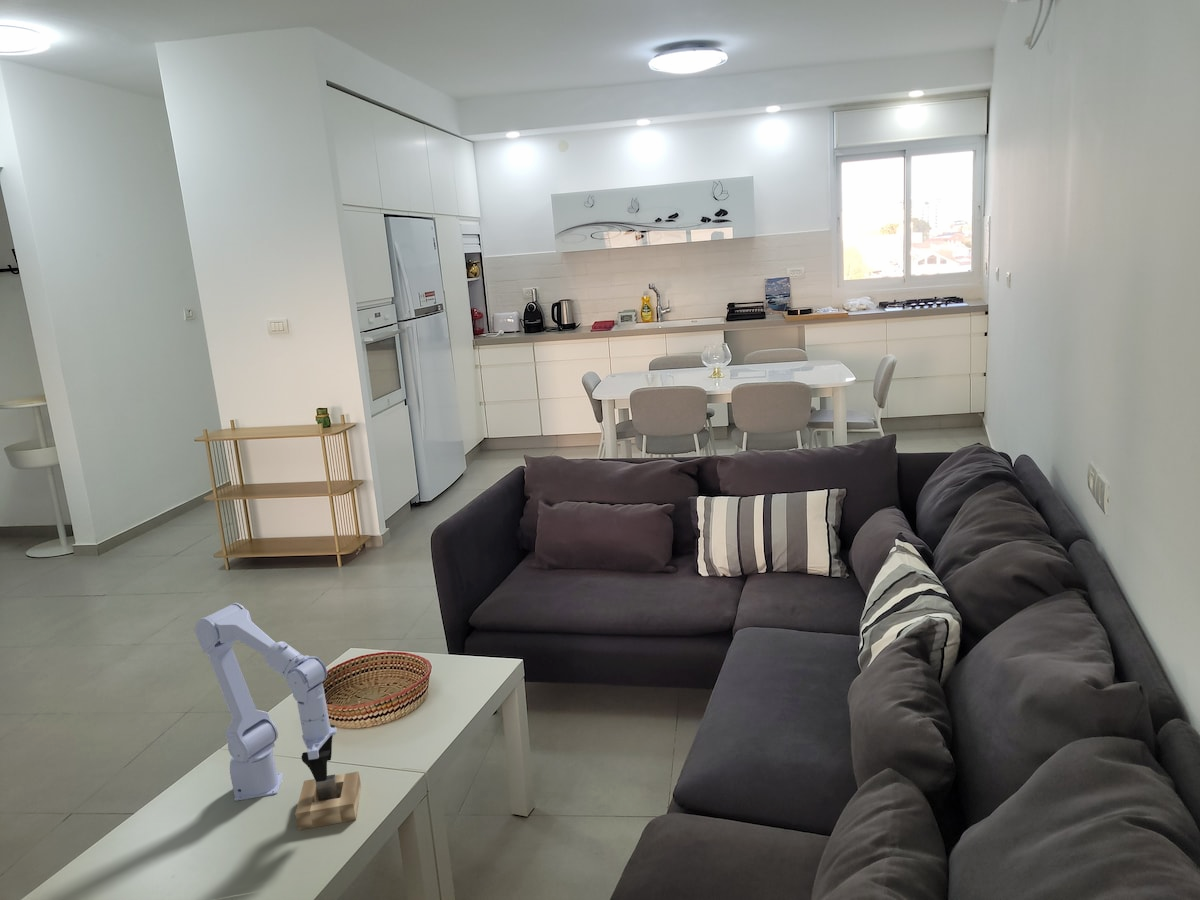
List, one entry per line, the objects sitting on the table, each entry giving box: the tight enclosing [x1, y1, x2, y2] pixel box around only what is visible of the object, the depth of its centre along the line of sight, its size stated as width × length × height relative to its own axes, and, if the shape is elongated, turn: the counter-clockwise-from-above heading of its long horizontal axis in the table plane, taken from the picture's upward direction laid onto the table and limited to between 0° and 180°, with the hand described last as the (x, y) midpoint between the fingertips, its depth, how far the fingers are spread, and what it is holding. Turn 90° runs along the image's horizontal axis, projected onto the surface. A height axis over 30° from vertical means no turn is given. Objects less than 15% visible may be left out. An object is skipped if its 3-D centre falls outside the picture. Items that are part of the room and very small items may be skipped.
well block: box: [294, 771, 362, 831], centre depth 195 cm, size 12×12×4 cm
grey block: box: [315, 774, 340, 801], centre depth 195 cm, size 4×4×7 cm
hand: (323, 770), depth 194 cm, fingers open, 7 cm apart
